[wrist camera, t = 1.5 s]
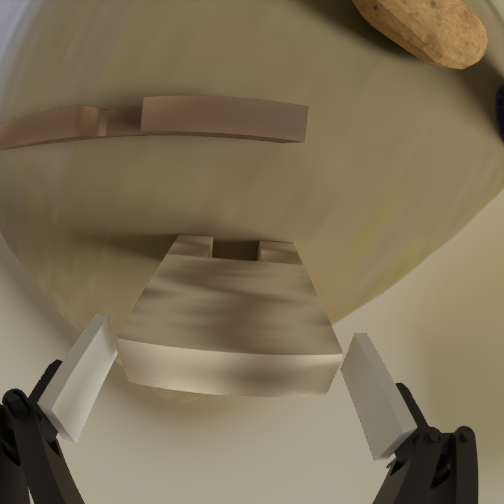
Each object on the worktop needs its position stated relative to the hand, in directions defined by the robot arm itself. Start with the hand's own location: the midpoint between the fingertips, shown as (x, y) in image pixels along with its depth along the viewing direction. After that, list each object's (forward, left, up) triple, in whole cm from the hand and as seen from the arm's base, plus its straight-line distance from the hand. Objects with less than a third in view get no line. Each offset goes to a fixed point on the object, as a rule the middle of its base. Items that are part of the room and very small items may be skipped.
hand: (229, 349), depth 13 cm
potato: (-25, +13, -12) cm, 31 cm away
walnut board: (-11, -8, -12) cm, 18 cm away
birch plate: (0, 0, -12) cm, 12 cm away
